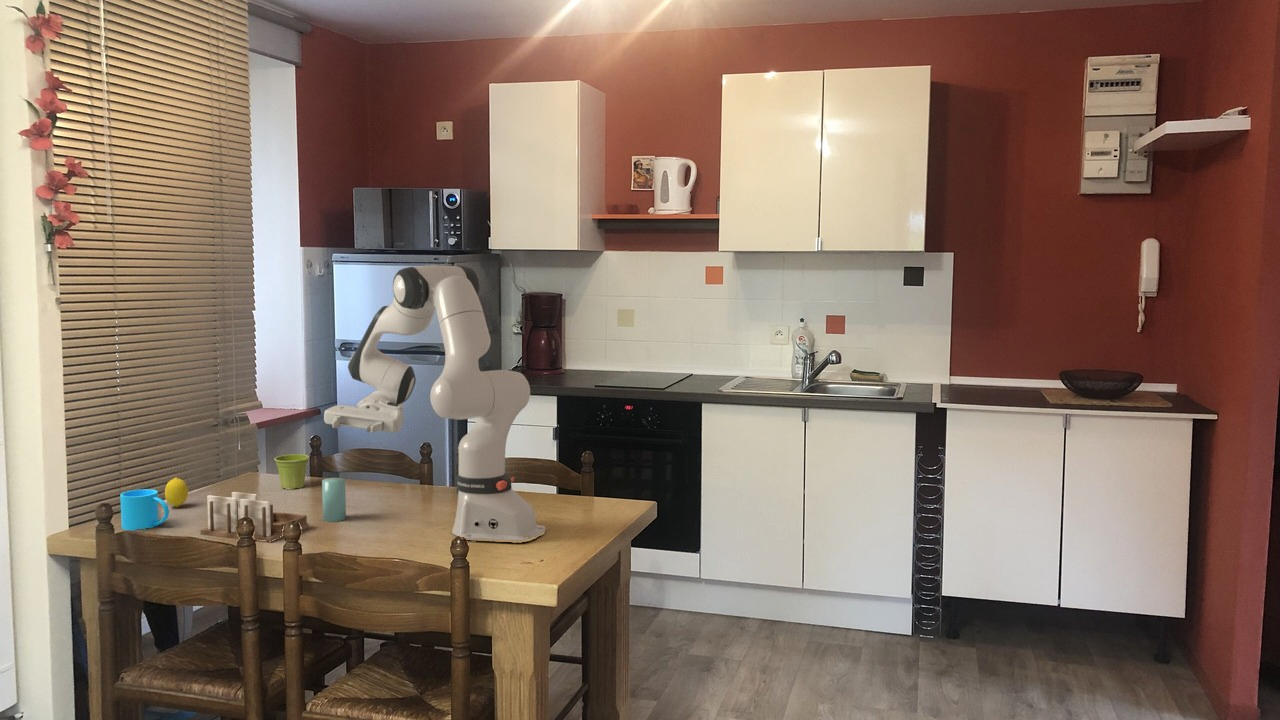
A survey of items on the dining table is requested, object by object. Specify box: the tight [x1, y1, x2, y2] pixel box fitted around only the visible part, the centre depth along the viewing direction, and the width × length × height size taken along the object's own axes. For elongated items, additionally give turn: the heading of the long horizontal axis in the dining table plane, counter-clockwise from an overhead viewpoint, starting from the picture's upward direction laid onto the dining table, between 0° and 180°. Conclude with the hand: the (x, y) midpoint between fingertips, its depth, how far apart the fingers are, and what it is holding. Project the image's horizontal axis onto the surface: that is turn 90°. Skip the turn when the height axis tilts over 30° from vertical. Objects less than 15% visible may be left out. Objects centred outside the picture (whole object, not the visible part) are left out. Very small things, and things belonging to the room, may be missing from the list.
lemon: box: [164, 476, 189, 508], centre depth 263 cm, size 6×6×8 cm
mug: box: [120, 488, 170, 531], centre depth 245 cm, size 12×8×8 cm
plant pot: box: [274, 453, 310, 490], centre depth 287 cm, size 9×9×9 cm
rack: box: [199, 491, 310, 541], centre depth 242 cm, size 20×14×9 cm
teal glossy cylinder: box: [321, 477, 347, 523], centre depth 253 cm, size 6×6×10 cm
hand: (352, 427), depth 262 cm, fingers open, 8 cm apart
